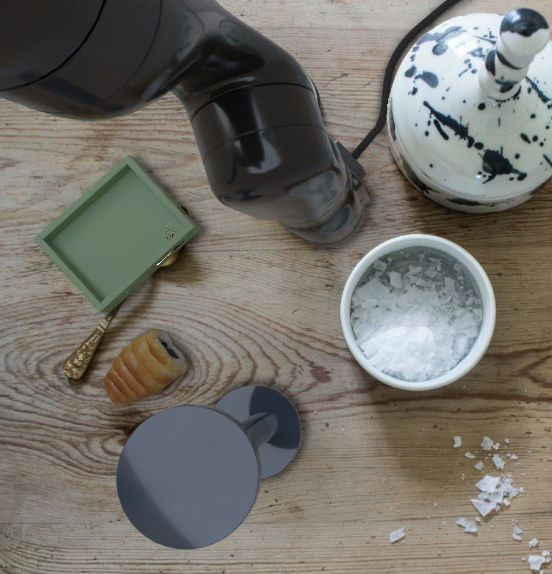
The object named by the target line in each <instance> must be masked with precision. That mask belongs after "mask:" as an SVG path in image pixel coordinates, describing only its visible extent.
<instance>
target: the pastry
mask: <svg viewBox="0 0 552 574" xmlns="http://www.w3.org/2000/svg"><path fill="white" fill-rule="evenodd" d="M188 368H189V367H188V363H187V360H186V358H185V356H184V354H183V353H182V352H181V351H180V350H179V349H178V348H177V346H175V345H174V344H173V340H172V338H171V337H170V336H169V335H168V334H167V332H165V331H163V330H160V329H151V330H150V331H148V332H145V333H142V334H140V335H138V336H137V337H136V338H134V339H133V340H132V341H131V342H130V343H129V344H128V345H126V346H125V347H123V349H122V351H121V352H120V353H119V354H117V356H116V359H115V360H114V361H113V363H112V365H111V368H110V369H109V371H108V372H107V373H106V374H105V377H104V380H103V384H104V390H105V392H106V394H107V396H108V398H109V400H110V402H112V403H115V404H121V405H129V404H131V403H133V402H138V401H141V400H142V401H143V400H144V399H147V398H148V397H150V396H153V395H156V394H160V393H162V392H163V390H164V388H165V387H167V386H169V385H170V384H171V383H172V382H174V381H176V380H177V379H178V378H179V377H180V376H181V375H184V374H186V373H187V371H188Z"/></svg>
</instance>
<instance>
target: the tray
mask: <svg viewBox="0 0 552 574" xmlns="http://www.w3.org/2000/svg"><path fill="white" fill-rule="evenodd" d="M178 207H179V208H180V209H181V210H182V211H183V212H184V213H185V214H186V215H185V214H184V213H183V212H182V211H181V210H180V209H179V208H178ZM168 223H169V224H168ZM167 225H168V226H167ZM166 227H167V229H166ZM168 228H169V230H168ZM170 229H171V230H170ZM172 229H173V231H172ZM201 230H202V229H201V227H199V225H198V224H197V223H196V222H195V221H194V220H193V219H192V218H191V216H190V215H188V214H187V212H186V211H185V210H184V209H183V208H182V207H181V206H180V205H179V204H178V203H177V201H176V200H175V198H173V197H172V195H170V194H169V193H168V191H167V190H165V189H164V187H163V186H162V185H161V184H160V183H159V182H158V180H157V179H155V177H153V175H152V174H151V173H150V172H149V171H148V170H147V169H146V168H145V167H144V165H143V164H141V162H139V160H138V159H136V158H134V157H133V156H131V155H129V154H127V155H126V156H124V158H122V159H121V160H120V161H118V163H117V164H116V165H114V166H113V167H112V168H111V169H110V170H109V171H108V172H107V173H106V174H105V175H103V176H102V177H101V178H100V179H99V180H98V181H96V182H95V183H94V184H93V185H92V186H90V188H89V189H87V190H86V191H85V192H84V193H83V194H82V195H81V196H80V197H79V198H77V199H76V200H75V201H73V203H72V204H71V205H69V207H67V208H66V209H65V210H64V211H63V212H61V214H59V215H58V217H56V218H55V219H54V220H52V222H50V223H49V224H48V225H47V226H46V227H45V228H44V229H42V230H41V232H39V234H37V235H36V236H35V237H34V238H33V241H34V243H36V244H37V246H39V247H40V249H41V250H42V251H43V252H44V253H45V254H46V255H47V256H48V257H49V259H50V260H52V262H53V263H54V264H55V265H56V266H57V267H58V269H60V271H62V273H63V274H64V275H65V276H66V277H67V279H69V280H70V281H71V283H72V284H73V285H74V286H75V287H76V288H77V290H79V291H80V292H81V294H83V296H84V297H85V298H86V299H87V300H88V301H89V302H90V304H92V306H93V307H94V308H95V309H96V310H97V311H98V313H112V311H113V310H114V309H116V307H118V306H119V305H120V304H121V303H122V302H123V301H124V300H126V299H127V298H128V296H130V295H131V294H132V293H133V292H134V291H136V289H138V288H139V287H140V286H141V285H142V284H143V283H144V282H145V281H146V280H147V279H149V278H150V277H151V276H152V275H153V274H154V273H155V272H156V271H158V269H159V268H161V267H162V266H163V265H164V264H165V263H166V262H167V261H168V260H170V259H171V258H172V257H173V256H174V255H175V254H176V253H178V251H179V250H181V249H182V248H183V247H184V246H185V245H186V244H187V243H188V242H190V241H191V240H192V239H193V238H194V237H195V236H196V235H197V234H198V233H199V232H200V231H201ZM167 231H168V232H167ZM174 231H175V232H174ZM166 232H167V233H166ZM166 234H167V235H166ZM168 234H169V235H168ZM172 234H174V235H173V238H172ZM170 235H171V237H170ZM165 237H166V238H165ZM167 237H168V239H167ZM169 238H170V240H169ZM183 241H184V242H183ZM182 242H183V243H182ZM180 243H182V244H181V245H180V246H179V247H177V248H176V250H174V251H173V252H172V253H171V254H170V255H169V256H167V255H168V254H169V253H170V252H171V251H172V250H173V249H174V248H175V247H176V246H178V245H179V244H180ZM166 256H167V257H166ZM165 257H166V258H165ZM164 258H165V259H164ZM163 259H164V260H163ZM162 260H163V261H162ZM161 261H162V262H161ZM160 262H161V263H160ZM158 263H160V264H159V265H157V264H158ZM156 265H157V266H156ZM127 292H128V293H127ZM126 293H127V294H126ZM122 296H123V297H122ZM121 297H122V298H121Z"/></svg>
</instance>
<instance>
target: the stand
mask: <svg viewBox="0 0 552 574" xmlns="http://www.w3.org/2000/svg"><path fill="white" fill-rule="evenodd" d="M302 441H303V420H302V417H301V414H300V412H299V409H298V407H297V406H296V404H295V403H294V402H293V400H292V399H291V397H289V396H288V395H287V394H286V393H284V392H283V391H281V390H279V389H278V388H276V387H273V386H270V385H267V384H258V383H257V384H255V383H254V384H253V383H252V384H246V385H243V386H239V387H237V388H234V389H233V390H231V391H229V392H228V393H226V394H225V395H224V396H223V397H221V398H220V399H219V400H218V401H217V403H216V404H215V406H212V405H208V404H201V403H199V404H198V403H183V404H178V405H173V406H171V407H168V408H165V409H162V410H161V411H158V412H156V413H154V414H152V415H151V416H149V417H148V418H146V419H145V420H144V421H143V422H141V423H140V424H139V425H138V426H137V427H136V428H135V429H134V430H133V431H132V433H131V434H130V436H129V437H128V438H127V439H126V442H125V443H124V445H123V447H122V449H121V452H120V454H119V458H118V462H117V465H116V474H115V476H116V477H115V486H116V494H117V497H118V501H119V504H120V506H121V508H122V511H123V513H124V514H125V516H126V518H127V519H128V521H129V522H130V523H131V525H132V526H133V527H134V528H135V529H136V530H137V531H138V532H139V533H140V534H141V535H143V536H144V537H145V538H147V539H148V540H150V541H151V542H153V543H155V544H157V545H160V546H163V547H166V548H170V549H174V550H197V549H203V548H206V547H209V546H213V545H215V544H217V543H219V542H221V541H223V540H225V539H226V538H228V537H229V536H230V535H232V534H233V533H234V532H235V531H236V530H237V529H238V528H239V527H240V526H241V525H242V524H243V523H244V522H245V520H246V519H248V516H249V515H250V514H251V513H252V511H253V509H254V507H255V505H256V503H257V501H258V498H259V495H260V492H261V487H262V480H265V479H269V478H271V477H273V476H276V475H278V474H279V473H281V472H282V471H283V470H284V469H285V468H287V467H288V466H289V464H290V463H292V461H293V460H294V459H295V457H296V456H297V454H298V452H299V449H300V447H301V444H302Z"/></svg>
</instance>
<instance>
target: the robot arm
mask: <svg viewBox="0 0 552 574" xmlns="http://www.w3.org/2000/svg"><path fill="white" fill-rule="evenodd" d="M460 1H461V0H444V1H443V2H442V3H441V4H439V5H438V6H437V7H436V8H434V10H432V11H431V12H430V13H429V14H427V16H425V17H424V18H423V19H422V20H421V21H419V22H418V23H417V24H416V25H415V26H413V28H411V30H409V31H408V32H407V34H405V36H404V37H403V38H402V39H401V40H400V42H399V43H398V44H397V46H396V47H395V49H394V50H393V53H392V54H391V56H390V58H389V61H388V63H387V65H386V70H385V73H384V77H383V82H382V83H383V84H382V92H381V103H380V109H379V115H378V119H377V121H376V124H375V125H374V127H373V128H372V129H371V130H370V131H369V132H368V133H367V135H365V137H364V138H363V139H362V141H360V143H359V144H358V145H357V146H356V148H355V149H354V150H353V151H352V152H350V151H348V150H347V148H346V147H345V146H344V145H343V144H342V143H341V142H340V141H339V140H337V142H335V140H334V139H333V138H332V137H331V136H330V135H329V134H328V131H327V128H326V124H325V122H324V119H323V115H322V112H321V109H320V105H319V103H318V100H317V96H316V94H315V90H314V88H313V84H312V82H311V79H310V77H309V75H308V74H307V72H306V71H305V68H304V67H303V66H302V64H301V63H300V62H299V60H297V59H296V58H295V56H293V55H292V54H291V53H290V52H288V51H287V50H286V49H285V48H283V47H282V46H280V45H279V44H278V43H276V42H274V41H273V40H272V39H270V38H269V37H267V36H265V35H264V34H262V33H261V32H259V31H258V30H256V29H255V28H253V27H252V26H250V25H249V24H247V23H246V22H244V21H242V20H241V19H240V18H238V17H237V16H235V15H234V14H233V13H232V12H230V11H229V10H227V9H226V8H224V7H223V5H221V4H220V3H219V2H218V1H217V0H0V98H1V99H4V100H6V101H8V102H12V103H16V104H18V105H21V106H23V107H25V108H28V109H31V110H33V111H37V112H40V113H44V114H46V115H49V116H53V117H55V118H56V117H57V118H61V119H68V120H75V121H80V122H96V121H97V122H98V121H106V120H112V119H116V118H119V117H120V118H121V117H123V116H127V115H130V114H134V113H135V112H138V111H141V110H142V109H144V108H146V107H149V106H150V105H152V104H153V103H155V102H157V101H158V100H160V99H162V98H163V97H165V96H166V95H167V94H169V93H171V94H173V95H174V96H175V97H176V98H177V99H178V100H179V101H180V103H181V104H182V106H183V109H184V110H185V112H186V113H187V117H188V119H189V122H190V125H191V129H192V133H193V135H194V139H195V142H196V145H197V149H198V151H199V156H200V158H201V162H202V164H203V168H204V171H205V174H206V177H207V181H208V184H209V187H210V190H211V192H212V194H213V196H214V197H215V198H216V200H217V201H218V202H219V203H220V204H222V205H223V206H225V207H227V208H228V209H231V210H233V211H237V212H240V213H242V214H244V215H247V216H249V217H252V218H254V219H258V220H262V221H269V222H270V221H272V222H273V221H274V222H277V224H280V226H283V227H284V228H285V229H287V230H289V231H290V232H292V233H293V234H295V235H296V236H297V237H298V238H300V239H301V240H303V241H304V242H306V243H308V244H311V245H313V246H316V247H333V246H334V247H335V246H338V245H340V244H343V243H345V242H346V241H348V240H349V239H351V238H352V237H353V236H354V235H355V234H356V233H357V232H358V230H359V229H360V227H361V225H362V223H363V220H364V217H365V212H366V211H365V210H366V206H367V205H369V203H370V202H371V199H370V197H369V195H368V192H367V190H366V188H365V186H364V184H363V182H362V181H361V180H363V179H364V178H365V177H366V176H367V173H366V170H365V168H364V167H363V165H362V164H361V163H360V162H359V161H358V159H359V158H360V157H361V155H362V154H363V153H364V152H365V151H366V149H367V148H368V147H369V146H370V145H371V144H372V142H373V141H374V140H375V139H376V138H377V136H378V135H379V134H380V133H381V132H382V131H383V129H384V127H385V125H386V121H387V118H386V114H387V115H388V113H387V104H388V98H389V99H390V97H389V94H391V88H392V87H391V86H392V80H393V75H394V72H395V68H396V66H397V63H398V62H399V59H400V58H401V56H402V55H403V53H404V52H405V50H406V48H407V47H408V46H409V45H410V43H411V42H413V40H414V39H415V38H416V37H417V36H418V35H419V34H420V33H422V31H424V30H425V29H426V28H427V27H428V26H430V25H431V24H432V23H433V22H434V21H435V20H437V19H438V18H439V17H440V16H442V15H443V14H444V13H445V12H447V11H448V10H449V9H450V8H452V7H453V6H454V5H456V4H457V3H458V2H460Z"/></svg>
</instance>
